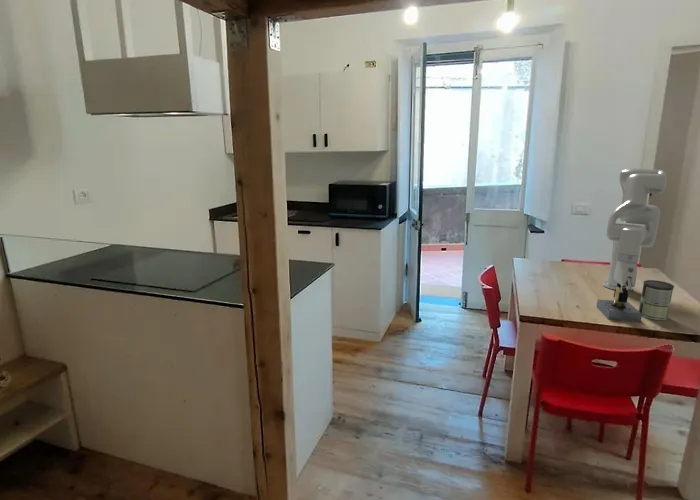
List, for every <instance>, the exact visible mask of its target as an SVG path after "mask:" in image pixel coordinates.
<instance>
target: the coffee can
mask: <svg viewBox="0 0 700 500" xmlns="http://www.w3.org/2000/svg"><path fill="white" fill-rule="evenodd" d="M674 288H675V286H674V284H672V283H670V282H666V281H662V280H655V279H646V280H644V281H643V285H642V291H641V295H640V296H641V297H640V302H639V307H638V308H639V309H638V311H639V312H641V313H642V317H643V318H646V319H649V320H656V321H666V320H668V318H669V317H668V316H669V311H670V306H671V301H672V297H673V292H674Z"/></svg>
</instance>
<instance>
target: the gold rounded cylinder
mask: <svg viewBox="0 0 700 500" xmlns="http://www.w3.org/2000/svg"><path fill="white" fill-rule="evenodd" d="M624 288H626V287H623V289H624ZM619 292H621V286H617V287H616V292H615V298H614V297H613V298H614V299H613V301H614V304H613V305H614V306H616V307H624V306H625V302H619V301H618V297H619Z"/></svg>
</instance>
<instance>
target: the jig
mask: <svg viewBox="0 0 700 500" xmlns="http://www.w3.org/2000/svg"><path fill="white" fill-rule="evenodd" d="M613 304H614V300H611V299H609V300H608V299H597V301H596V308H597V309H598V310H599V311H600V312H601V313H602V314H603V315H604V316H605V318H607V320H614V321H615V320H616V321H626V322H628V321H629V322H636V323H637V322H639V323H640V322H641V321H642V317H643V316H642V313H641V312H639V309H637V308H636V307H635V306H633V304H631V303H630V302H629V301H627V302H625V306H624V307H616V306H614V305H613Z"/></svg>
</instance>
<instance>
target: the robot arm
mask: <svg viewBox="0 0 700 500" xmlns="http://www.w3.org/2000/svg"><path fill="white" fill-rule="evenodd" d="M667 181H668V179H667V175H666V172H665V171H664V170H663V169H653V168H652V169H648V168H646V169H645V168H626V169H623V170H621V171H620V173H619V183H620V187H621V190H622V199H621V200H622V201H621V204H620V205H619V206H617V207H616V208H615V209H614V210H613V211H612V212H611V214H610V216H609V218H608V222H607V228H606V237H607V239H608V240H610V241H612V252H611V258H610V264H609V270H608V276H607V281H604V282H603V287H605V288H608V289H611V290H614V291H613V298H615V292H616V287H617V286H621V292H619V297H618V301H619V302H628V299H629V298H628V297H629V294H630V291H633V288H634V287H636V281H637V272H638V262H639V258H640V257H639V256H640V251H641V248H652V247H653V246H654V245H655V242H656V239H657V235H658V230H659V229H658V228H659V224H660V220H661V219H660V217H661V209H660V207H659V206H657V205H653V204H647V203H648V195H649V194H653V195H654V194H655V195H656V194H657V195H660V194H662V193H664V192H665V191H666V187H667V185H668V184H667V183H668V182H667ZM618 219H619V220H620V221H621V222H622V223H616V222H617V220H618ZM642 225H643V226H642ZM644 225H645V226H644ZM623 287H626V288H624V289H623Z"/></svg>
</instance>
